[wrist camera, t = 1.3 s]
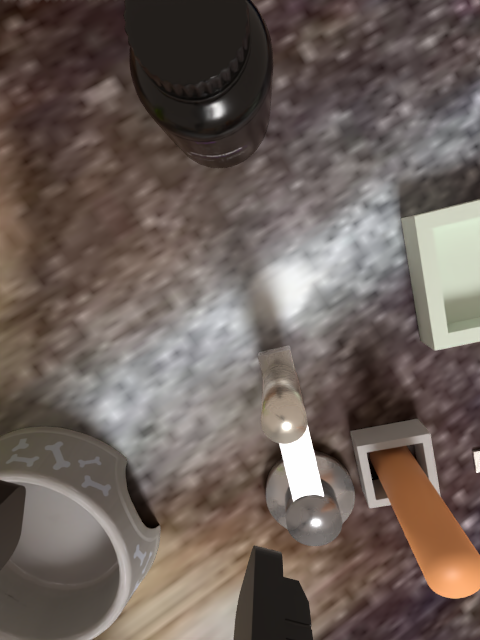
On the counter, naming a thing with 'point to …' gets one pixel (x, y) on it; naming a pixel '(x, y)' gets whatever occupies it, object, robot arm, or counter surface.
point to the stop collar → (388, 439)
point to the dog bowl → (70, 537)
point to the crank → (296, 452)
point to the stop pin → (428, 525)
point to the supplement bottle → (203, 74)
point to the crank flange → (327, 471)
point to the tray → (445, 273)
